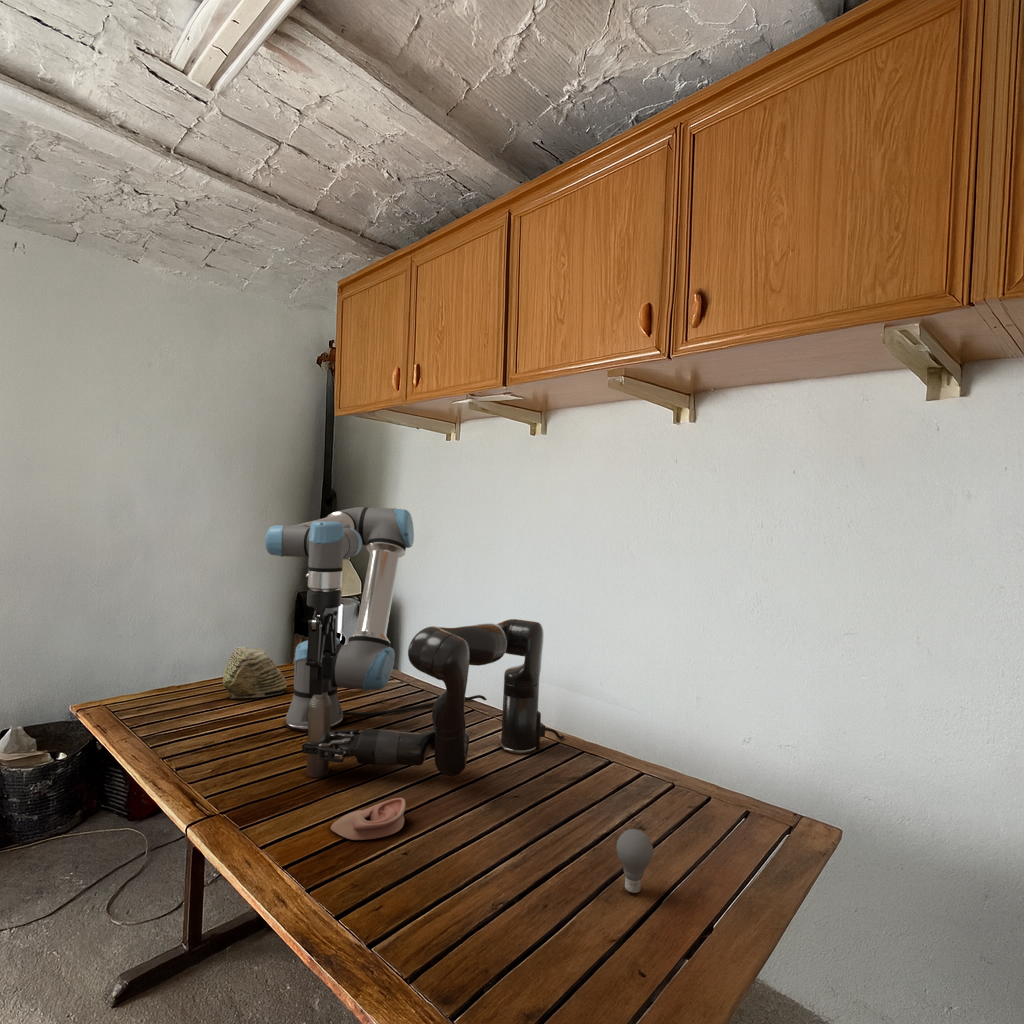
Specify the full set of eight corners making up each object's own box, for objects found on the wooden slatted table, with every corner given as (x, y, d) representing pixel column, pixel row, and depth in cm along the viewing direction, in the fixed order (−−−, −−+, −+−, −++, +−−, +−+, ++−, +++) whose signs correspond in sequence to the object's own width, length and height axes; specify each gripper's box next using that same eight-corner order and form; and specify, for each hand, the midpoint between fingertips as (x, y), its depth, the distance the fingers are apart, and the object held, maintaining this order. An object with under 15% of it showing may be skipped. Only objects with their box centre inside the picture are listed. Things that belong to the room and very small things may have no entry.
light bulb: (610, 879, 108) (613, 822, 108) (644, 879, 109) (647, 822, 109) (619, 902, 102) (622, 840, 102) (655, 901, 103) (658, 840, 103)
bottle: (302, 776, 143) (306, 684, 143) (312, 767, 148) (315, 679, 148) (323, 778, 142) (326, 686, 142) (332, 769, 147) (335, 680, 147)
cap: (307, 690, 145) (307, 679, 145) (323, 686, 148) (324, 676, 148) (317, 694, 142) (318, 683, 142) (334, 690, 145) (334, 679, 145)
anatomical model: (323, 814, 118) (350, 787, 130) (322, 835, 118) (350, 806, 130) (389, 824, 116) (412, 796, 127) (389, 846, 116) (411, 816, 127)
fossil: (218, 695, 195) (220, 647, 195) (278, 685, 208) (279, 640, 207) (228, 703, 189) (230, 653, 188) (289, 692, 201) (290, 645, 201)
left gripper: (322, 582, 154) (318, 676, 155) (292, 594, 135) (288, 702, 135) (352, 584, 154) (349, 678, 154) (327, 596, 135) (323, 703, 135)
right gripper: (388, 720, 152) (318, 716, 152) (373, 742, 137) (296, 738, 138) (387, 751, 152) (316, 747, 152) (372, 777, 138) (294, 772, 138)
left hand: (320, 689), depth 145 cm, fingers open, 6 cm apart
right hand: (307, 743), depth 145 cm, fingers closed on bottle, 5 cm apart
